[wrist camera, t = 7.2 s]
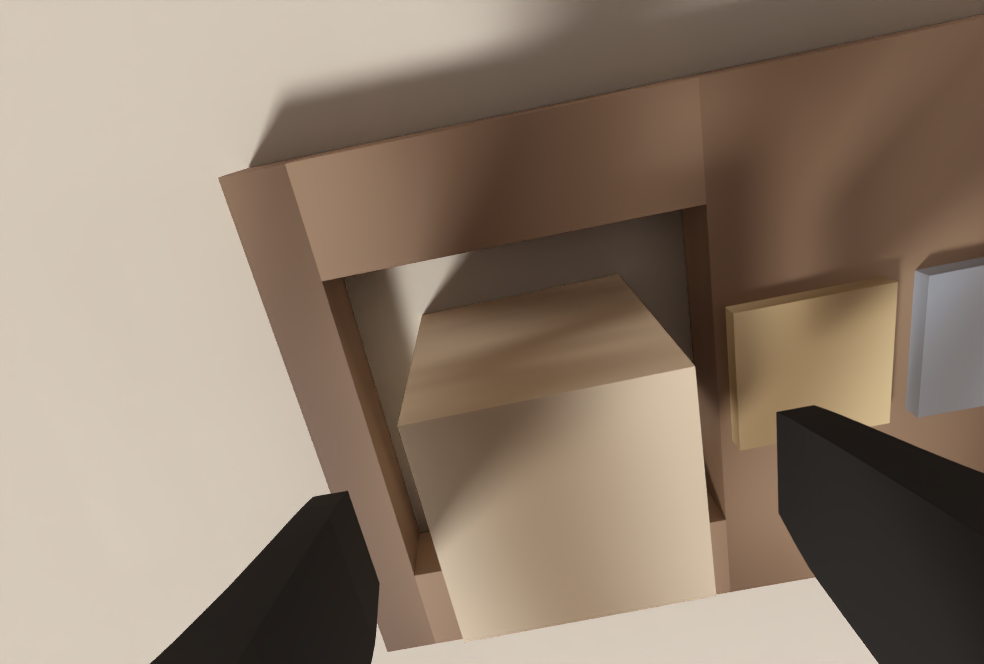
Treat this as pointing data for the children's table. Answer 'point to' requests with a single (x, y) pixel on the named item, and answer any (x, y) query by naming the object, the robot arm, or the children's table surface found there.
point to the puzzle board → (709, 263)
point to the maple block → (558, 458)
